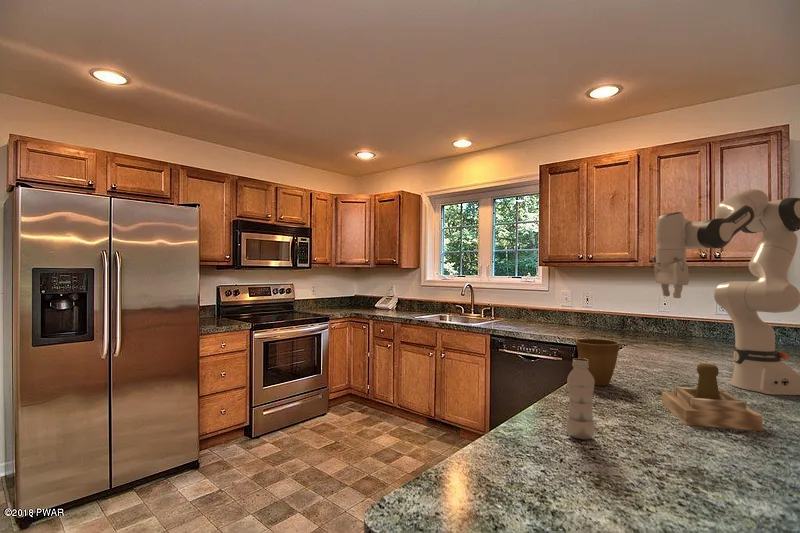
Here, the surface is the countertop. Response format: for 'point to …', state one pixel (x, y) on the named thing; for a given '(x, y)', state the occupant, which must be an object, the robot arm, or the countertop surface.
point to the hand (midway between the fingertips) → (671, 297)
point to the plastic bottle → (580, 400)
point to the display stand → (711, 410)
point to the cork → (707, 382)
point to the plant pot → (599, 358)
